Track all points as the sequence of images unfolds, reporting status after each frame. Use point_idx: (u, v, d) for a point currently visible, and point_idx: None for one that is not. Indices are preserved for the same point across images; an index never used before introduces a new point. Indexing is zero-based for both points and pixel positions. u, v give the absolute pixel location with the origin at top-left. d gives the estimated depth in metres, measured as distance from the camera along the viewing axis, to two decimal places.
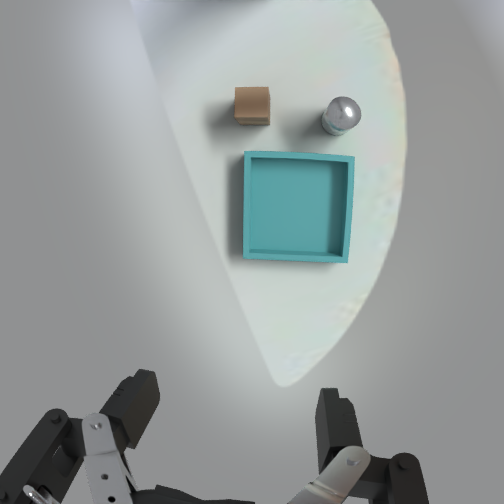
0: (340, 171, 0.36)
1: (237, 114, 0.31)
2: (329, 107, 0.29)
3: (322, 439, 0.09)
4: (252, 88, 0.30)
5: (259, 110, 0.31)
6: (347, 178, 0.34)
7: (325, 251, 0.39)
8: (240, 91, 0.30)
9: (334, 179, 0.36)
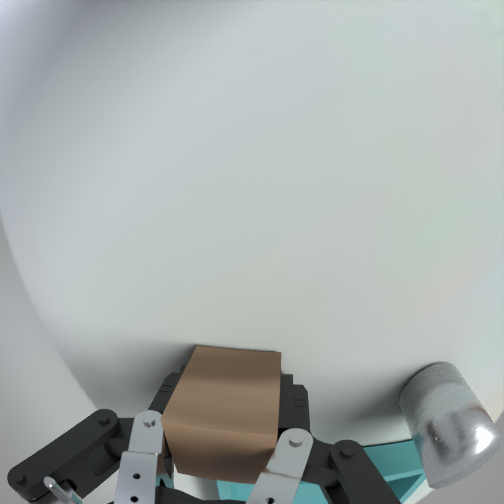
0: None
1: (185, 470, 0.09)
2: (440, 469, 0.07)
3: None
4: (220, 433, 0.08)
5: (245, 474, 0.09)
6: (409, 483, 0.12)
7: None
8: (180, 431, 0.08)
9: None
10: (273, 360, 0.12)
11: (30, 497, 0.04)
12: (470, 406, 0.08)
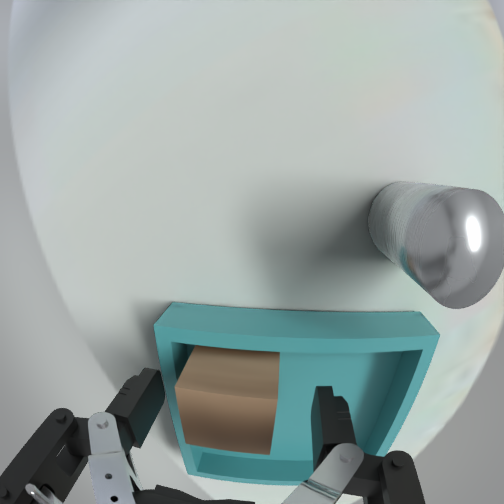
0: None
1: (193, 440, 0.11)
2: (429, 235, 0.07)
3: (316, 436, 0.10)
4: (227, 398, 0.10)
5: (248, 443, 0.11)
6: (409, 377, 0.13)
7: None
8: (191, 398, 0.10)
9: (378, 365, 0.14)
10: None
11: None
12: (445, 186, 0.09)
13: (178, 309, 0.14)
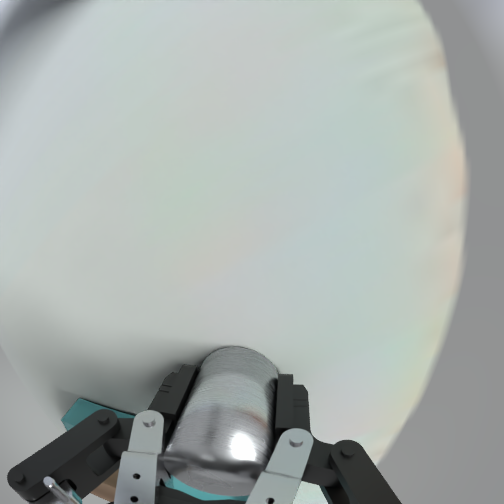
0: None
1: (92, 492, 0.12)
2: (166, 459, 0.08)
3: None
4: None
5: None
6: None
7: None
8: None
9: None
10: None
11: (30, 497, 0.04)
12: (224, 402, 0.09)
13: (80, 406, 0.15)
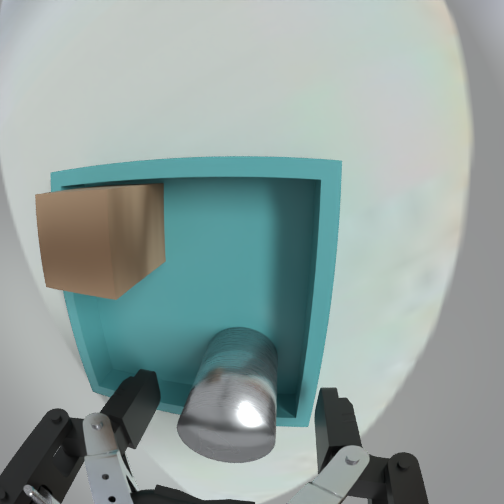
0: (301, 204, 0.13)
1: (50, 279, 0.10)
2: (180, 426, 0.10)
3: (321, 439, 0.09)
4: (68, 197, 0.09)
5: (91, 274, 0.09)
6: (317, 231, 0.11)
7: None
8: (45, 206, 0.09)
9: (284, 229, 0.13)
10: None
11: None
12: (231, 371, 0.11)
13: None
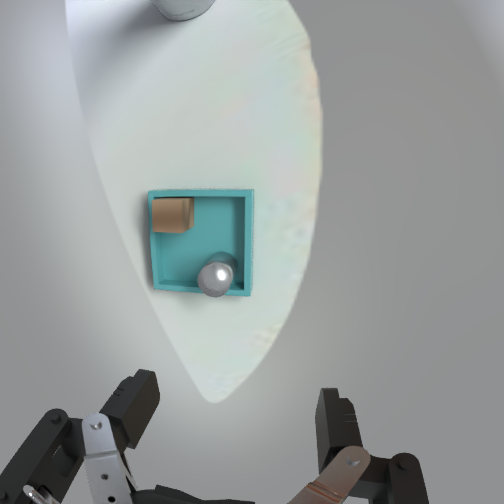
0: (242, 204, 0.37)
1: (155, 228, 0.34)
2: (198, 278, 0.34)
3: (322, 439, 0.09)
4: (167, 201, 0.33)
5: (174, 225, 0.34)
6: None
7: (231, 283, 0.40)
8: (156, 204, 0.33)
9: (237, 213, 0.38)
10: (190, 197, 0.37)
11: None
12: (215, 260, 0.36)
13: None
